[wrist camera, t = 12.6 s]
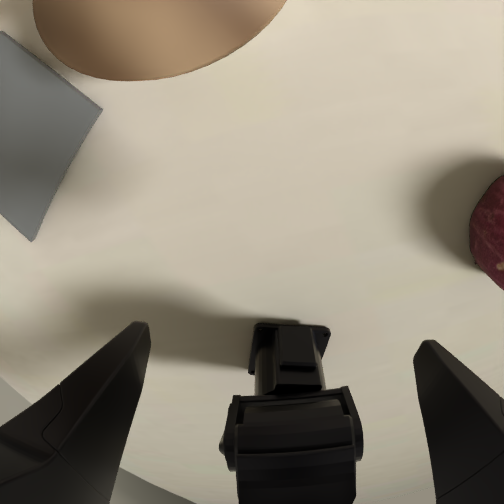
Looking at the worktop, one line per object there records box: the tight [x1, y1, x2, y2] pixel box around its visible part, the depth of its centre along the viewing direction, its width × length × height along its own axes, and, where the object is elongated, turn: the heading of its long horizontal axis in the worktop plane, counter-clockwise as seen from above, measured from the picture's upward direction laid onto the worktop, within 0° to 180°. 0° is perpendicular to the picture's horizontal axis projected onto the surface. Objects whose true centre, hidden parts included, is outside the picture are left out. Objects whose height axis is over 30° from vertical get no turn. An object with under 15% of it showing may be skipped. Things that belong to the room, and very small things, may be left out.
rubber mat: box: [0, 31, 103, 242], centre depth 18 cm, size 13×13×1 cm
